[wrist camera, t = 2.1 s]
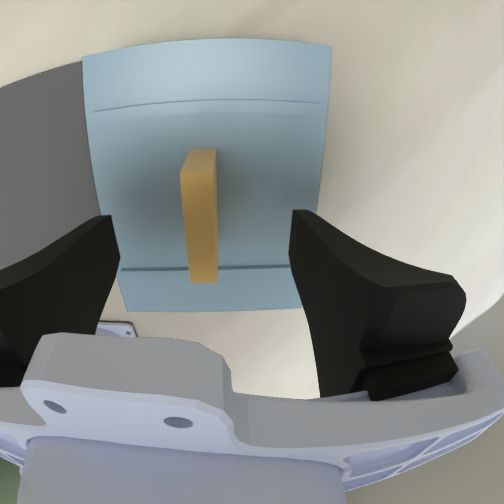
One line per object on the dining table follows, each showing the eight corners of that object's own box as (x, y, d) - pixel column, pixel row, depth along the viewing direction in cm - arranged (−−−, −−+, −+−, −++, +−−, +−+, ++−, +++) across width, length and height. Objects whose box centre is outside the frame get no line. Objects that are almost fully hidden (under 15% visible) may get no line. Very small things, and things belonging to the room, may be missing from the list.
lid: (296, 290, 21) (313, 349, 17) (132, 293, 20) (115, 352, 16) (320, 48, 12) (363, 40, 8) (96, 57, 12) (43, 57, 7)
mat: (116, 269, 23) (114, 272, 22) (-3, 269, 22) (-5, 272, 21) (84, 60, 14) (81, 61, 14) (-45, 110, 13) (-49, 111, 12)
